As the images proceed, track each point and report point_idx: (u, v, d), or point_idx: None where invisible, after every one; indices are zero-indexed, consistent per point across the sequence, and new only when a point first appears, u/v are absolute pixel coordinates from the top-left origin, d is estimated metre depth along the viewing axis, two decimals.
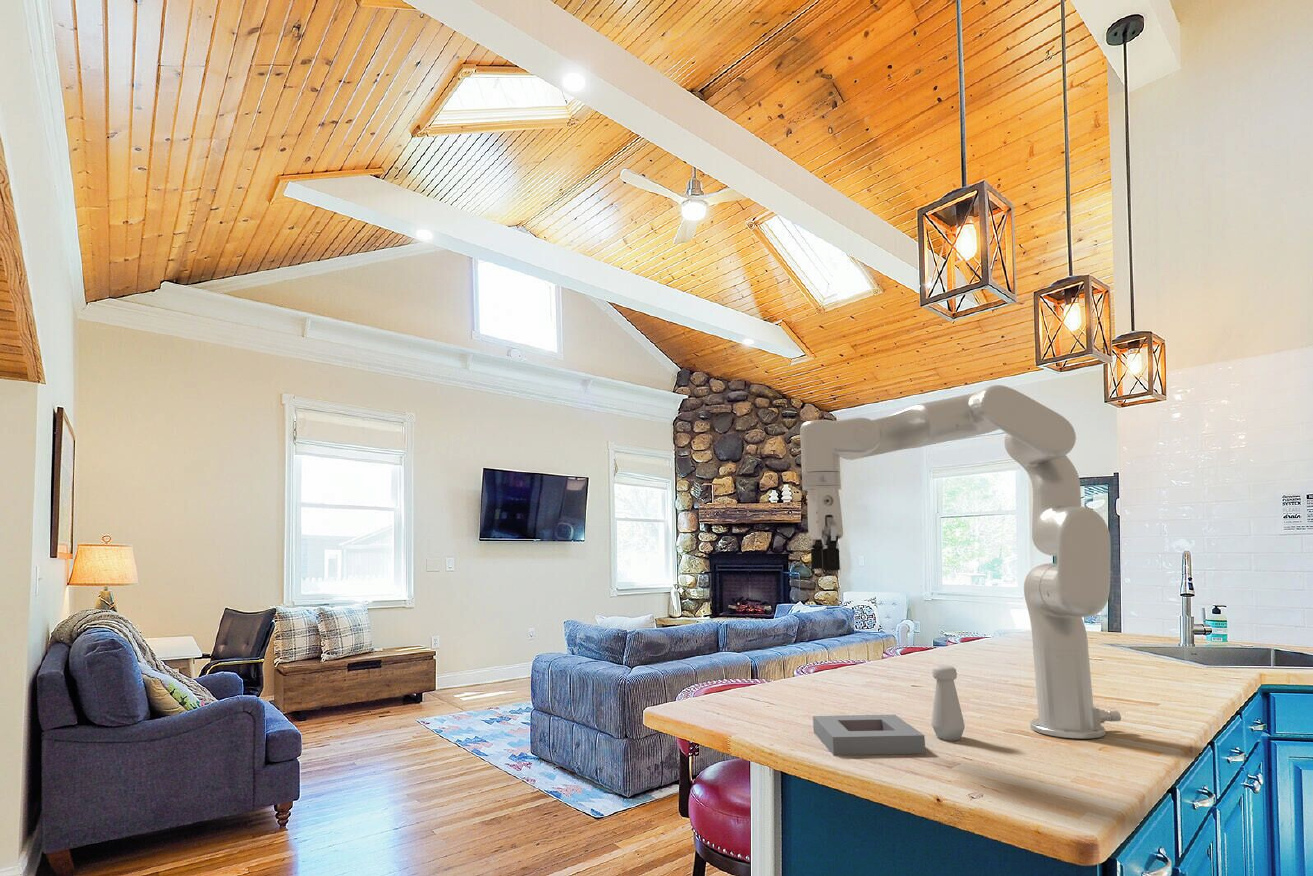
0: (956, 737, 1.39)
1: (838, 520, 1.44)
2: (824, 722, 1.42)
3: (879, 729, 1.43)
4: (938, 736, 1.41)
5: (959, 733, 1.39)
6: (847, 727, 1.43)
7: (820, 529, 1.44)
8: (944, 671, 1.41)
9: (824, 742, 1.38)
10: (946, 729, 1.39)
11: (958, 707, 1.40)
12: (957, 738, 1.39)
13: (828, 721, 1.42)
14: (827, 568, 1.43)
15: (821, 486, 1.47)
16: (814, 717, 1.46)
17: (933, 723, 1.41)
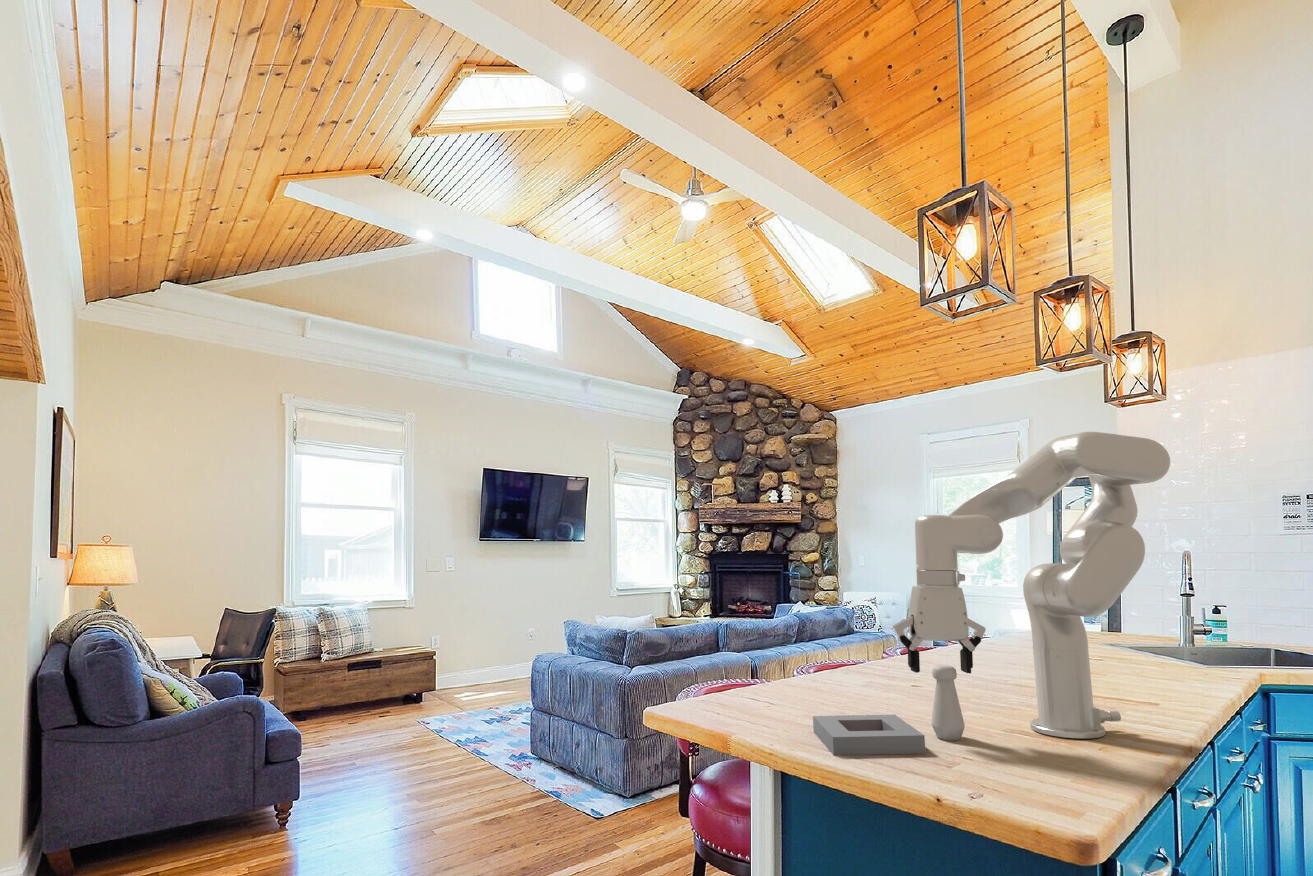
0: (956, 737, 1.39)
1: None
2: (824, 722, 1.42)
3: (879, 729, 1.43)
4: (938, 736, 1.41)
5: (959, 733, 1.39)
6: (847, 727, 1.43)
7: (968, 631, 1.42)
8: (944, 671, 1.41)
9: (824, 742, 1.38)
10: (946, 729, 1.39)
11: (958, 707, 1.40)
12: (957, 738, 1.39)
13: (828, 721, 1.42)
14: None
15: (957, 586, 1.44)
16: (814, 717, 1.46)
17: (933, 723, 1.41)
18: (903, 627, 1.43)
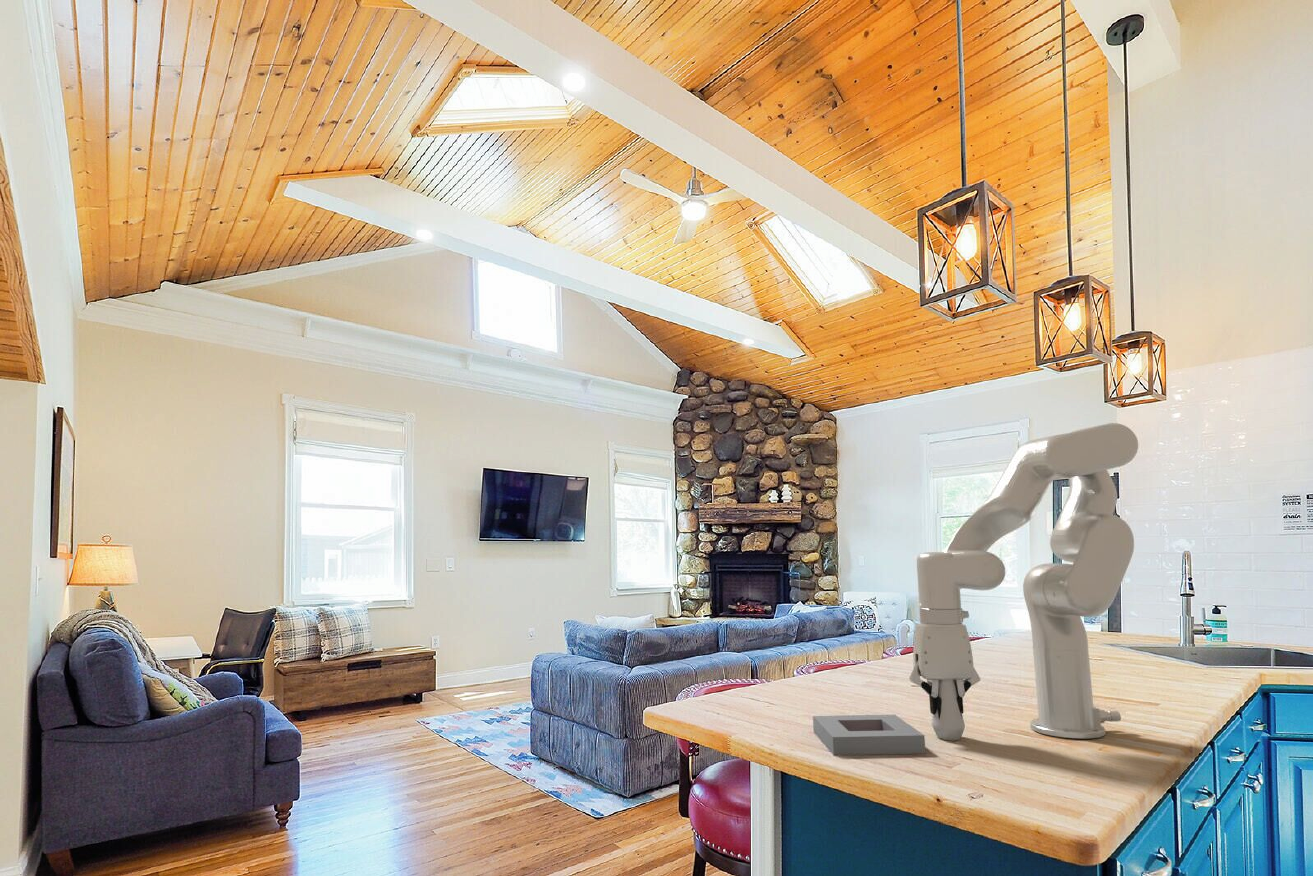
0: (956, 737, 1.39)
1: None
2: (824, 722, 1.42)
3: (879, 729, 1.43)
4: (938, 736, 1.41)
5: (959, 733, 1.39)
6: (847, 727, 1.43)
7: (973, 669, 1.41)
8: None
9: (824, 742, 1.38)
10: (946, 729, 1.39)
11: None
12: (957, 738, 1.39)
13: (828, 721, 1.42)
14: None
15: None
16: (814, 717, 1.46)
17: (933, 723, 1.41)
18: (918, 675, 1.42)
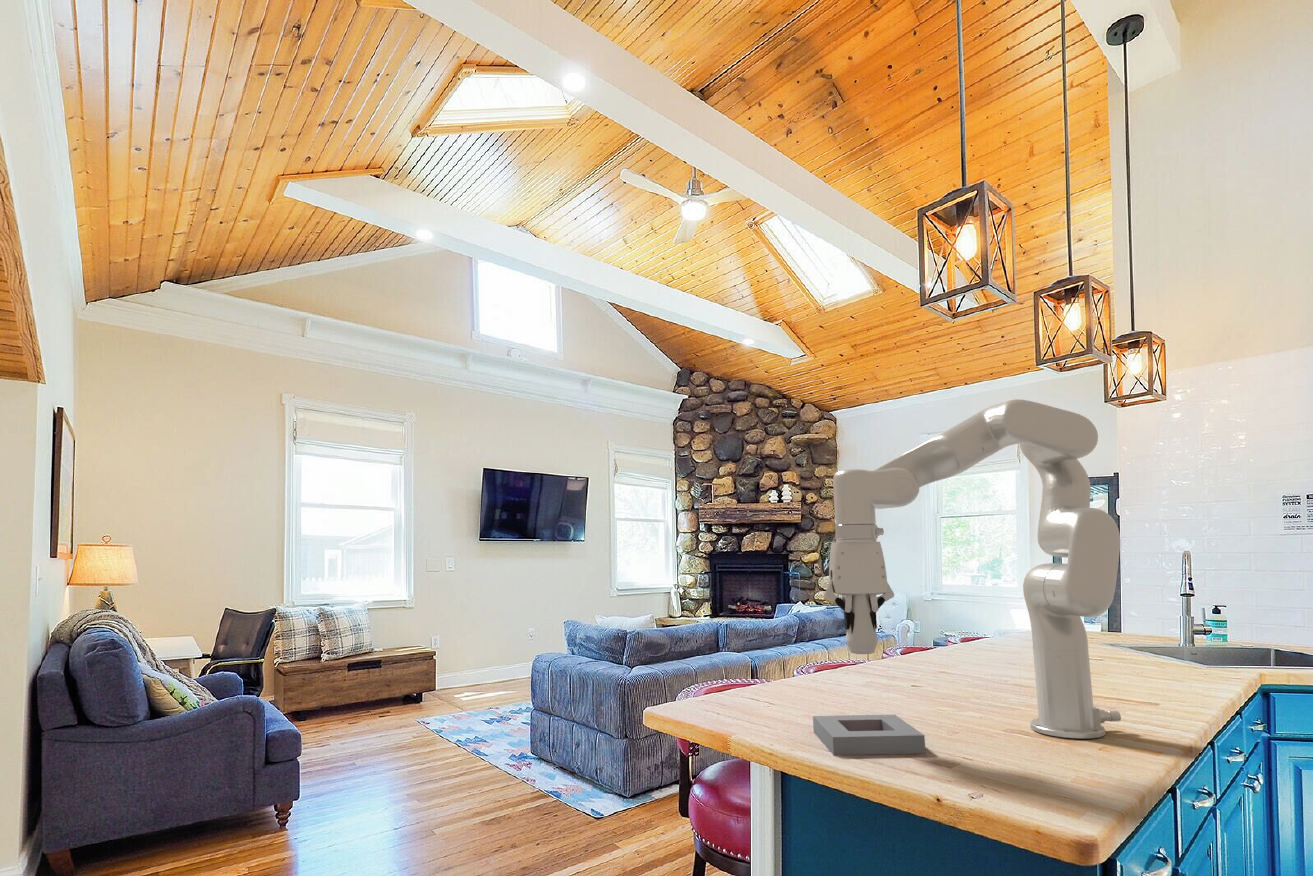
0: (868, 651, 1.39)
1: None
2: (824, 722, 1.42)
3: (879, 729, 1.43)
4: (851, 651, 1.41)
5: (871, 647, 1.39)
6: (847, 727, 1.43)
7: (887, 584, 1.41)
8: None
9: (824, 742, 1.38)
10: (858, 643, 1.39)
11: None
12: (870, 652, 1.39)
13: (828, 721, 1.42)
14: None
15: None
16: (814, 717, 1.46)
17: (847, 638, 1.41)
18: (832, 591, 1.42)
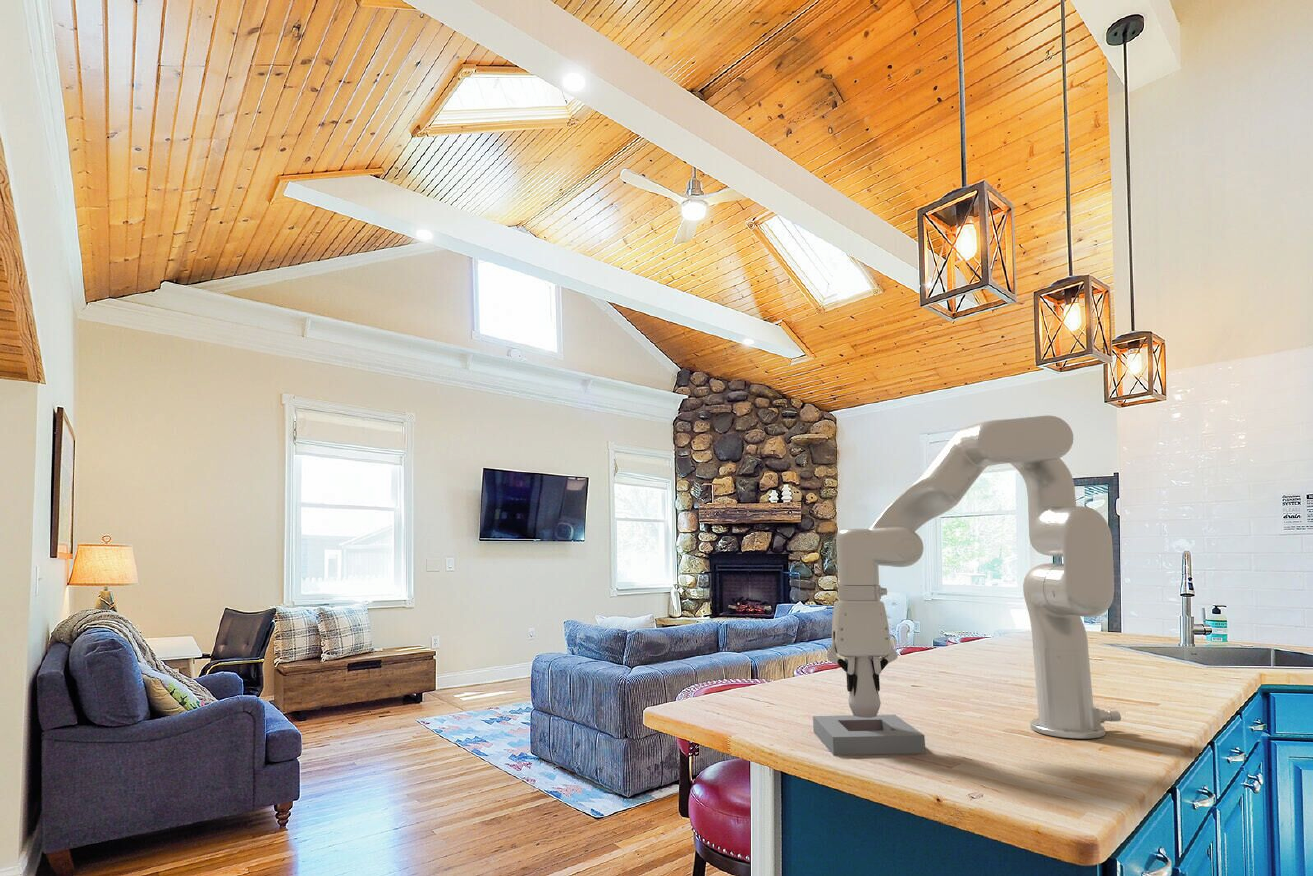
0: (871, 714, 1.37)
1: None
2: (824, 722, 1.42)
3: (879, 729, 1.43)
4: (854, 713, 1.39)
5: (874, 710, 1.37)
6: (847, 727, 1.43)
7: (890, 646, 1.39)
8: None
9: (824, 742, 1.38)
10: (861, 706, 1.37)
11: None
12: (872, 715, 1.38)
13: (828, 721, 1.42)
14: None
15: None
16: (814, 717, 1.46)
17: (849, 700, 1.39)
18: (834, 653, 1.40)
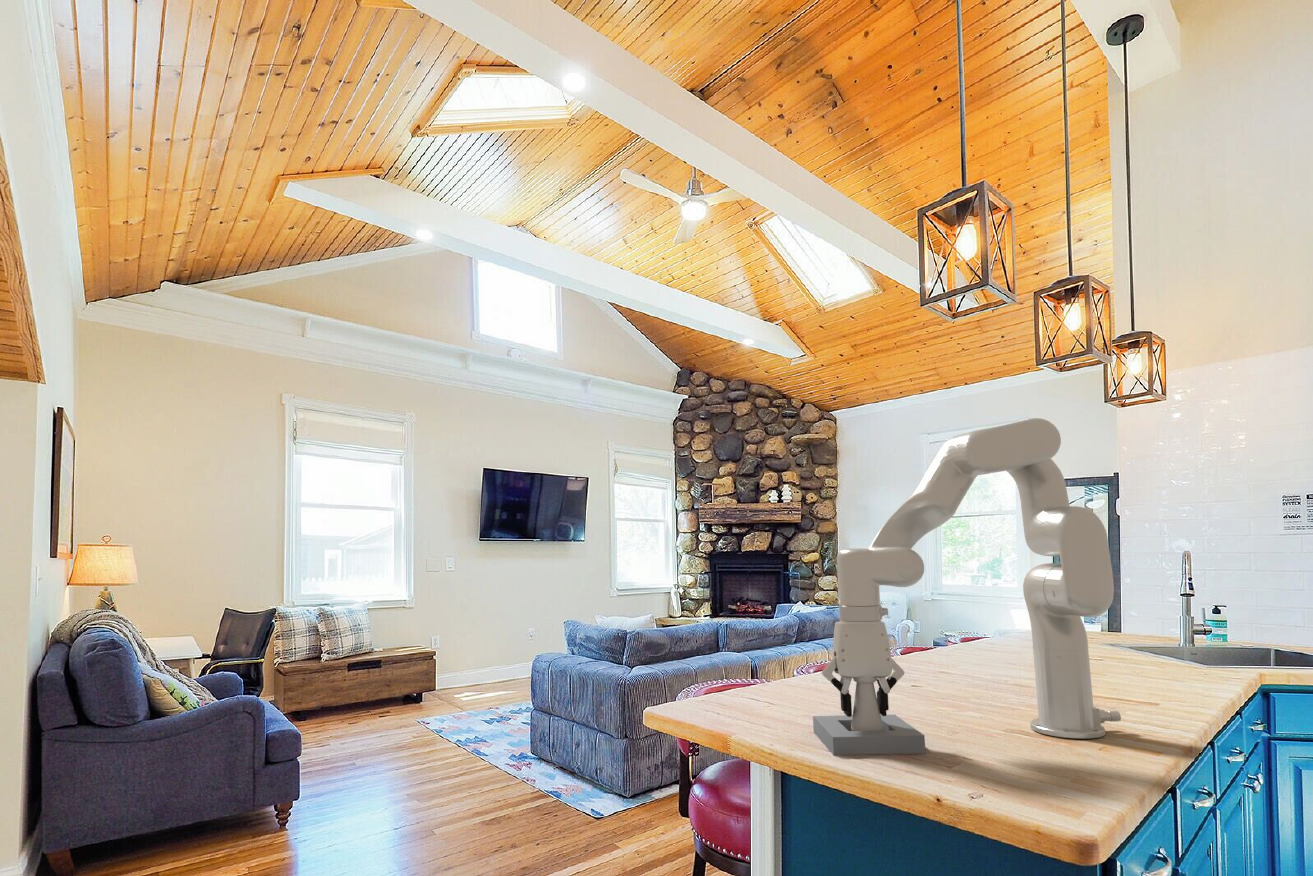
0: None
1: None
2: (824, 722, 1.42)
3: None
4: None
5: None
6: (847, 727, 1.43)
7: (891, 667, 1.39)
8: None
9: (824, 742, 1.38)
10: None
11: (877, 710, 1.38)
12: None
13: (828, 721, 1.42)
14: None
15: None
16: (814, 717, 1.46)
17: (852, 726, 1.39)
18: (831, 671, 1.40)
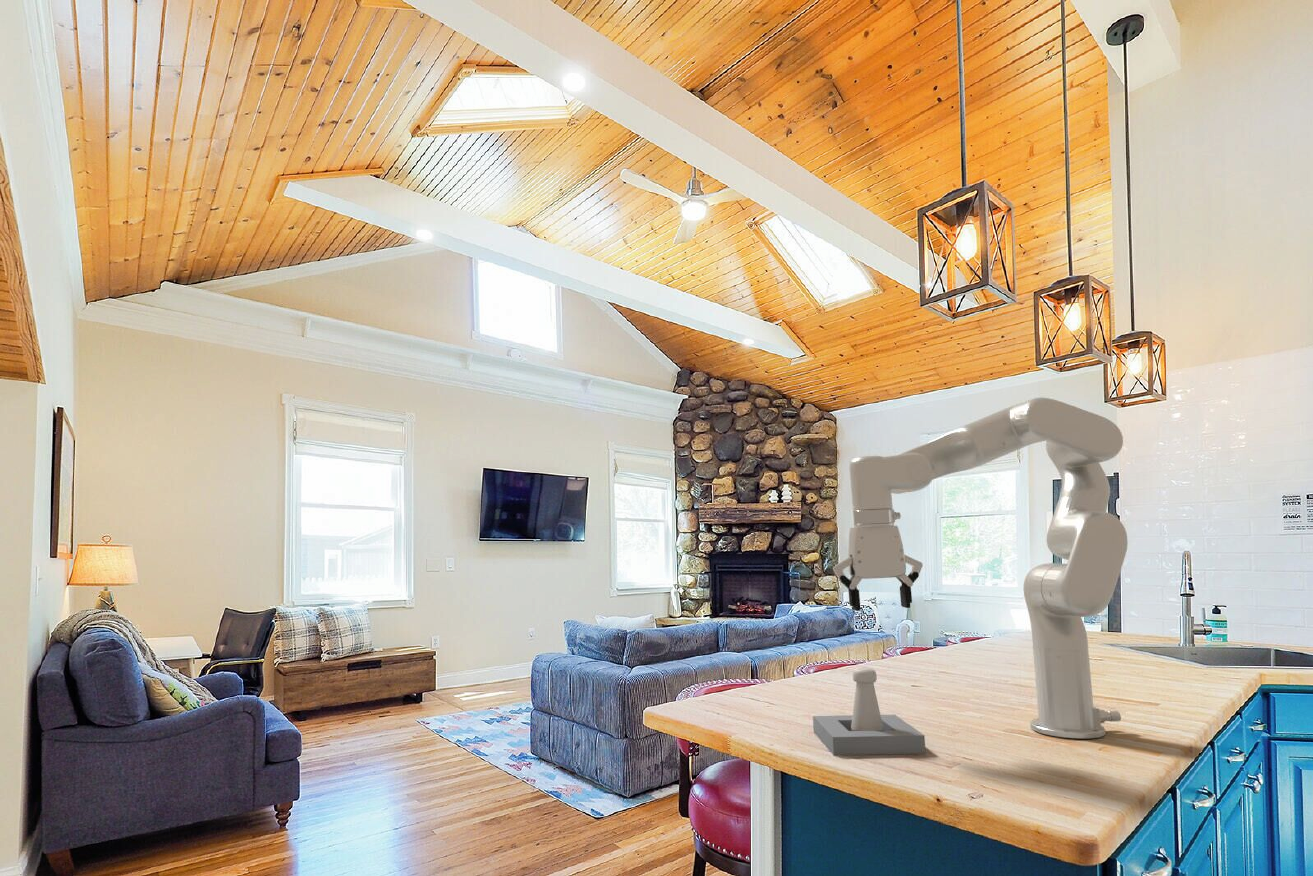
0: None
1: None
2: (824, 722, 1.42)
3: None
4: None
5: None
6: (847, 727, 1.43)
7: (905, 567, 1.45)
8: (862, 674, 1.39)
9: (824, 742, 1.38)
10: None
11: (877, 710, 1.38)
12: None
13: (828, 721, 1.42)
14: None
15: None
16: (814, 717, 1.46)
17: (852, 726, 1.39)
18: (842, 567, 1.46)
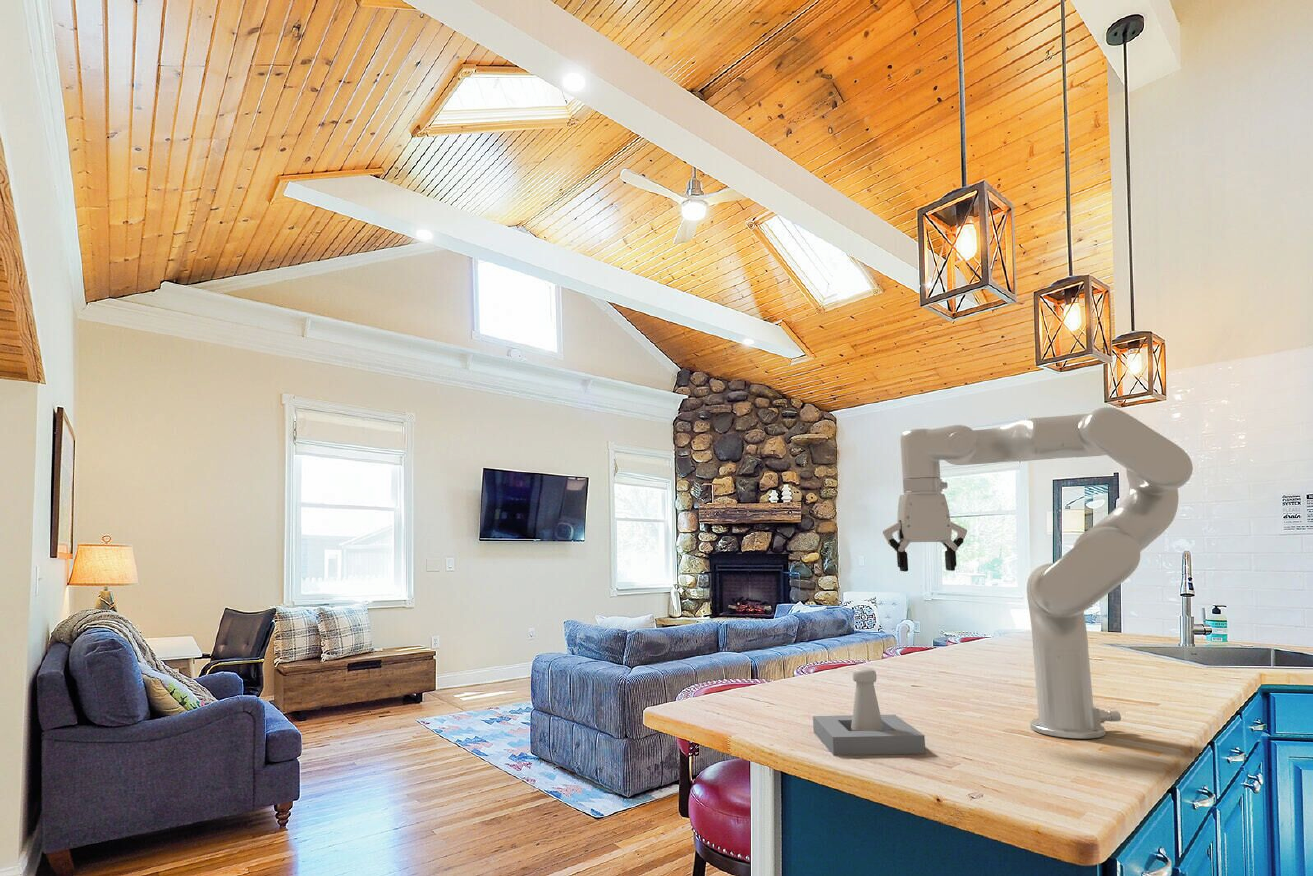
0: None
1: None
2: (824, 722, 1.42)
3: None
4: None
5: None
6: (847, 727, 1.43)
7: (951, 532, 1.55)
8: (862, 674, 1.39)
9: (824, 742, 1.38)
10: None
11: (877, 710, 1.38)
12: None
13: (828, 721, 1.42)
14: None
15: None
16: (814, 717, 1.46)
17: (852, 726, 1.39)
18: (892, 531, 1.56)
